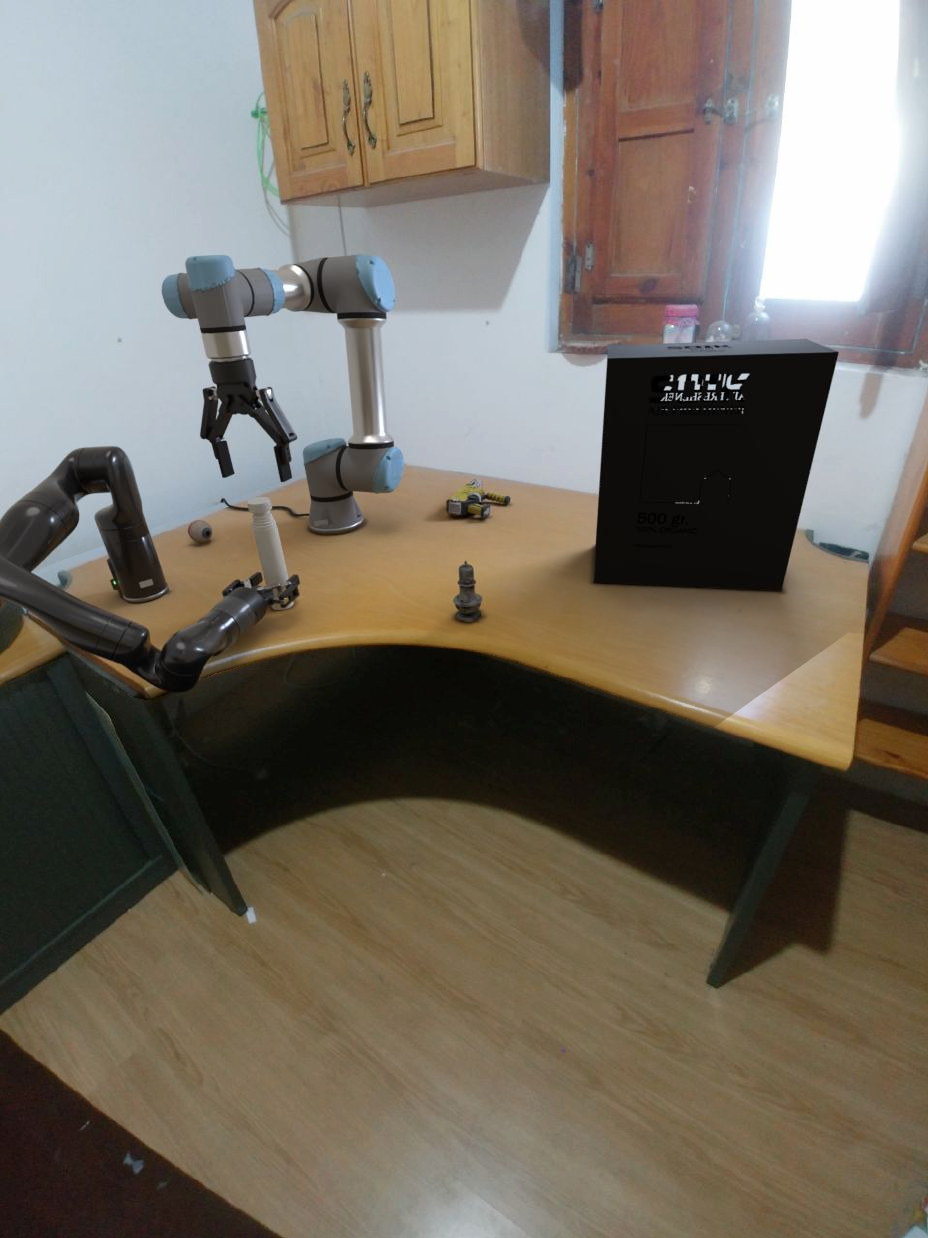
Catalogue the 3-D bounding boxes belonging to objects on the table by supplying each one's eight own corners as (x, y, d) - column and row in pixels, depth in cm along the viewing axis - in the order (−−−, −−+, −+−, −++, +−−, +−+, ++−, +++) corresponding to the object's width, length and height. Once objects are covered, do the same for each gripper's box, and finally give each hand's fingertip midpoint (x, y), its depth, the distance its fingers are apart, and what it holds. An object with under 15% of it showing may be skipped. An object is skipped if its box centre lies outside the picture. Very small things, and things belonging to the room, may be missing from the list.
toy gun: (518, 484, 183) (472, 477, 187) (496, 507, 163) (444, 499, 167) (517, 499, 185) (471, 492, 189) (494, 524, 165) (443, 515, 169)
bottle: (290, 597, 132) (268, 496, 121) (296, 606, 129) (274, 503, 117) (269, 603, 130) (244, 501, 119) (274, 612, 127) (249, 508, 115)
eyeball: (201, 547, 160) (195, 526, 157) (186, 543, 163) (180, 522, 160) (220, 539, 164) (214, 518, 161) (205, 536, 167) (199, 515, 164)
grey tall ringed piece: (480, 623, 118) (477, 567, 112) (451, 621, 119) (447, 566, 113) (485, 608, 123) (483, 554, 117) (457, 607, 124) (453, 553, 118)
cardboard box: (760, 550, 140) (805, 338, 118) (781, 591, 123) (838, 351, 101) (595, 545, 148) (608, 345, 125) (593, 582, 131) (607, 358, 108)
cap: (269, 504, 121) (267, 495, 120) (274, 510, 118) (272, 501, 117) (247, 508, 120) (244, 499, 119) (251, 515, 116) (249, 506, 115)
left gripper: (208, 628, 117) (252, 590, 131) (274, 634, 114) (312, 595, 127) (198, 594, 113) (244, 558, 127) (265, 599, 110) (306, 562, 124)
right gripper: (302, 354, 104) (323, 475, 115) (189, 356, 112) (218, 468, 123) (276, 360, 98) (300, 487, 109) (159, 361, 106) (192, 479, 117)
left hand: (278, 577), depth 127 cm, fingers open, 8 cm apart
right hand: (257, 478), depth 116 cm, fingers open, 13 cm apart
